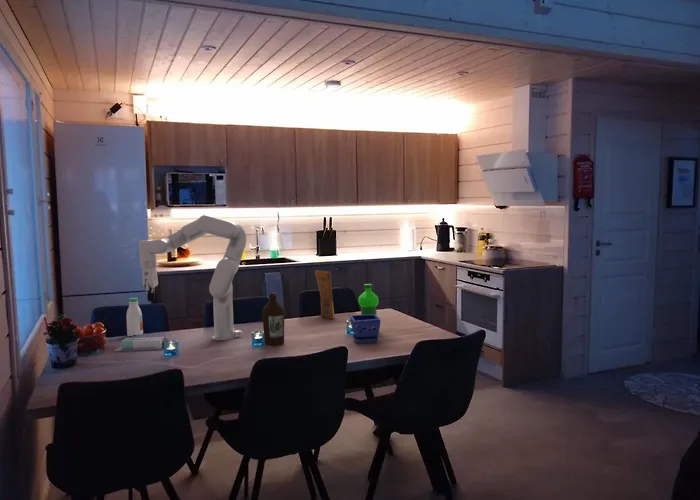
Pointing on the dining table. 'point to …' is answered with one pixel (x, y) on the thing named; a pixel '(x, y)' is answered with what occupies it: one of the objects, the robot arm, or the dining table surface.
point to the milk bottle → (134, 318)
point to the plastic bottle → (368, 301)
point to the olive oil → (273, 322)
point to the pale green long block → (143, 344)
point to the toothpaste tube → (146, 338)
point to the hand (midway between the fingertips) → (151, 300)
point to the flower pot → (365, 328)
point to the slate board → (141, 349)
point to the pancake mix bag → (325, 293)
